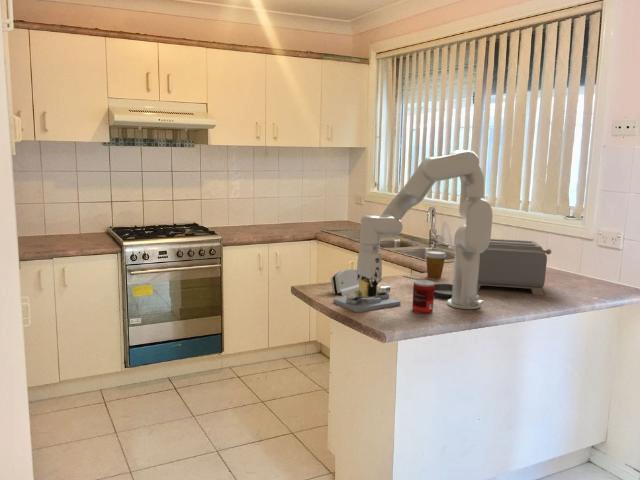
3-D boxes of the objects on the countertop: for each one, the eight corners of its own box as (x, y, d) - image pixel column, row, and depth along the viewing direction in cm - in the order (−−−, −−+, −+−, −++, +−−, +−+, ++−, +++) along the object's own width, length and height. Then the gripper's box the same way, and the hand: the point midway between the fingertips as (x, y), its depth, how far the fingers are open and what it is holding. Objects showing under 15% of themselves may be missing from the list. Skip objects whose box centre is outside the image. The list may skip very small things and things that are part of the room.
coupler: (366, 298, 214) (367, 281, 213) (358, 294, 219) (359, 278, 217) (376, 296, 217) (377, 279, 216) (368, 293, 221) (369, 276, 220)
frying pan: (455, 303, 224) (456, 294, 223) (390, 287, 246) (391, 279, 245) (478, 295, 237) (478, 287, 236) (414, 281, 258) (414, 273, 258)
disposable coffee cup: (437, 274, 273) (438, 250, 271) (448, 279, 264) (450, 253, 262) (420, 275, 270) (421, 250, 268) (430, 280, 261) (432, 254, 259)
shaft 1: (353, 304, 217) (353, 288, 216) (362, 306, 215) (363, 290, 214) (344, 307, 212) (345, 291, 211) (354, 309, 210) (355, 294, 209)
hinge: (342, 296, 228) (336, 271, 229) (333, 297, 231) (328, 273, 232) (366, 289, 241) (361, 266, 241) (357, 290, 244) (352, 268, 244)
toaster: (552, 295, 241) (557, 248, 237) (468, 289, 246) (471, 243, 242) (542, 285, 259) (546, 241, 256) (464, 279, 265) (467, 236, 261)
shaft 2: (383, 299, 226) (384, 284, 225) (391, 301, 222) (391, 286, 221) (371, 301, 222) (372, 286, 221) (378, 303, 219) (379, 288, 218)
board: (375, 295, 230) (375, 288, 230) (400, 305, 218) (400, 297, 218) (333, 302, 219) (333, 294, 218) (356, 312, 206) (357, 304, 206)
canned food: (430, 307, 216) (432, 279, 214) (435, 314, 208) (437, 285, 206) (410, 307, 215) (411, 279, 214) (414, 313, 208) (416, 284, 206)
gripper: (392, 251, 210) (389, 298, 213) (363, 243, 224) (361, 288, 227) (376, 252, 206) (373, 301, 209) (348, 244, 220) (346, 290, 223)
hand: (367, 293), depth 218 cm, fingers closed on coupler, 4 cm apart
